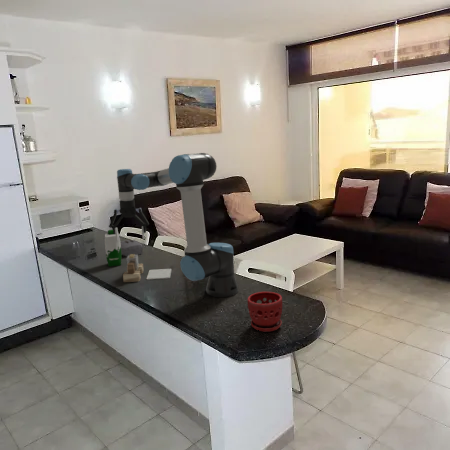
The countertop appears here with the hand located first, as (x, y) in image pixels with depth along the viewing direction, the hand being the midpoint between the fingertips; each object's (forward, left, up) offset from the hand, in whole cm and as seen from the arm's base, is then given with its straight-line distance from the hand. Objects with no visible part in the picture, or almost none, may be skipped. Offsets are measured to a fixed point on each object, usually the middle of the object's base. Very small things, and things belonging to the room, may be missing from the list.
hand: (130, 239), depth 213 cm
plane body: (0, 0, -20) cm, 20 cm away
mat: (0, -14, -20) cm, 24 cm away
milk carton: (+23, +14, -20) cm, 34 cm away
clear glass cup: (0, 0, -16) cm, 16 cm away
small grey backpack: (+46, +10, -21) cm, 51 cm away
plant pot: (-67, -60, -20) cm, 92 cm away
